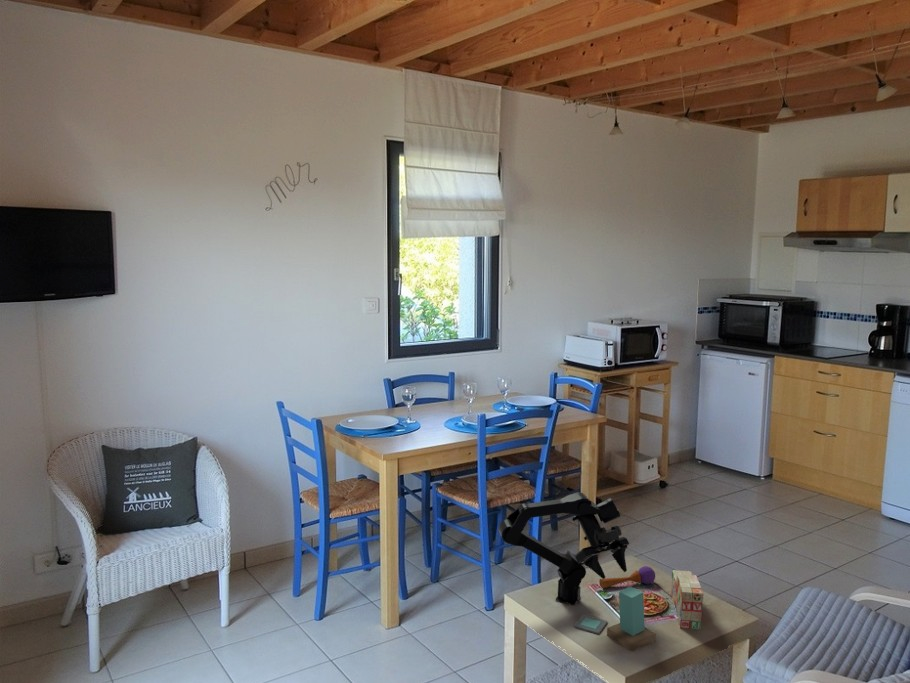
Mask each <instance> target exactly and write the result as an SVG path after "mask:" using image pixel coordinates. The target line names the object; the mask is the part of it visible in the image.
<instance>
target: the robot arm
mask: <svg viewBox="0 0 910 683" xmlns="http://www.w3.org/2000/svg"><path fill="white" fill-rule="evenodd" d="M561 514H569V515H572V520H571V521H572V524H575V523H579V525H580V528H581V529H582V532H583V534H584V537H583V539H584V541H587V542H588V543H589V546H587V547H584V548H582V549H581V550H579V551H578V552H577V553H576V554H574V553H572V552H571V551H570V550H567V552H566V553H562V552H559V551H558V550H557V549H555V548H553V547H551V546H549V545H547V544H546V543H544V542H542V541H540V540H538V539H537V538H535V537H533V536H532V535H530V534H528V533H527V532H525V530H524V529H525V527H526V525H527V523H528V521H529V520H530V519H532V518H538V517H540V518H541V517H546V516H553V515H561ZM619 518H621V513H620V511H619V509H618V508H617V506H616V505H615V502H614V500H613V499H612V498H611V497H609V498H607V499H606V500H604V501H601V502H600V503H598V504H595V502H594V501H593V500H590V498H588V497H587V495H586V494H584V493H583V492H580V491H577V492H574V493H571V494H567V495H566V496H564V497H563V498H559V499H558V498H557V499H552V500H545V501H537V502H529V503H527V502H525V503H524V502H523V503H520V504H519V506H517V508H516V509H515V510H514V511H512V512H510V513H509V515H508V516H507V517H506V518H505V519H504V520H502V521H500V522H499V525H498V532H499V534H500V537H501V539H502V540H503V542H504V543H506V544H509V545H511V546H514V547H522V548H523V549H526V550H527V551H530V552H531V553H532V554H535V555H537V556H539V557H540V558H542V559H544V560H545V561H548V562H549V563H551V564H553V565H554V566H556V567H558V569H557V570H556V571H557V575H558V576H559V579H558V581H557V582H558V583H557V596H556V597H555V601H557V602H562V603H564V604H568V605H572V606H574V605H575V604H577V602H578V601H579V600H580V599H581V586H580V585H581V582H582V580H583V579H584V578H585V576H586V574H587V568H589V569H590V570H592V571H593V572H594V573H595V574H596V575H598V576H599V577H600V579H606V574H605V573H604V570H603V568H602V566H601V564H600V561H599V554H602V553H606V552H610V553H612V554H611V556H612V558H613V559H614V560H615V562H616V563H617V565H618V566H619V568H620V569H621V571H623V573H626V572H627V570H628V569H627V563H626V555H625V553H626V549H628V546H629V545H630V542H629V540H628V538H627V537H624V536H622V535H623V533H622V529H621V528H620V526H618V525H615V526H611V527H610V530H607V529H606V528H605V527H604V526H603V527H602V526H601V525H600V523H603V524H604V525H606V524H608V523H610V522H612V521H615V520H617V519H619ZM620 536H622V537H620ZM585 566H586V567H587V568H586V567H585Z"/></svg>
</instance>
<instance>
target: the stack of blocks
mask: <svg viewBox="0 0 910 683" xmlns="http://www.w3.org/2000/svg"><path fill="white" fill-rule="evenodd" d="M699 581H700V580H699V579H698V577H697V575H696V574H693V573H692V571H688V570H672V571H671V594H670V595H671V596H670V597H671V599H672V600H671V601H672V604H673V603H674V604H673V606H674V605H675V608H676V611H675V613H677V614H676V617H678V618H677V621H678V626H680V627H679V629H682V628H685V629H684V630H694V629H696V631H701V630H702V628H701V627H702V612H703V603H704V602H703V601H704V600H703V599H704V591H703V589H702V586H701V583H700V582H699ZM675 608H674V609H675Z"/></svg>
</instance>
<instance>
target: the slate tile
mask: <svg viewBox="0 0 910 683" xmlns="http://www.w3.org/2000/svg"><path fill="white" fill-rule="evenodd" d="M607 624H608V621H607V620H604V619H600V618H597V617H593V616H590V615H585V614H582V615H581V616H580V617H579V619H577V621H576V622H575V624H574V625H573V628H574V629H579V630H580V631H585V632H589V633H592V634H595V635H600V634H601V632H602V631H603V629H604V628H605V626H606V625H607Z"/></svg>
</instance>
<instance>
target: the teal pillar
mask: <svg viewBox="0 0 910 683" xmlns="http://www.w3.org/2000/svg"><path fill="white" fill-rule="evenodd" d="M618 601H619V602H618V605H619V606H618V608H619V623H620V629H621V630H623V631H625V632H627V633H628V634H630V635H632V636H634V635H636V634H638V633H640V632H642V631H643V630H645V628H646V627H645V602H644V591H641V590H640V589H637V588H635V587H632V586H631V585H629V586H627V587H625V588H624V589H621V590H619V591H618Z"/></svg>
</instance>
